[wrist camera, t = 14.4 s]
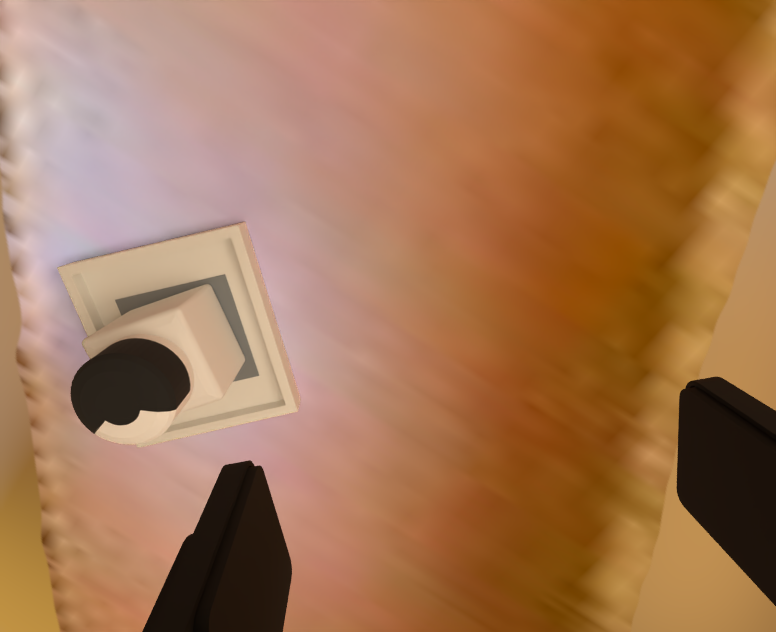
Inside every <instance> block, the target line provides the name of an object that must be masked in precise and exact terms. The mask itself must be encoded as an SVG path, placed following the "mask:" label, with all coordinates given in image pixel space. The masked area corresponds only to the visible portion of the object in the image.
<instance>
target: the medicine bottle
mask: <svg viewBox="0 0 776 632" xmlns="http://www.w3.org/2000/svg"><path fill="white" fill-rule="evenodd" d="M82 345H83V347H84V349H85V351H86V352H87V354H88V356H89V358H90V360H89V361H87V362H86V363H85V364H84V365H82V367H81V368H80V369H79V370H78V371H77V373H76V374H75V376H74V379H73V381H72V385H71V401H72V404H73V408H74V410H75V412H76V414H77V416H78V418H79V419H80V421H81V422H82V423H83V424H84V425H85V426H86V427H87V428H88V429H89V430H90V431H91V432H93V433H94V434H95V435H97V436H99V437H101V438H103V439H105V440H108V441H111V442H114V443H119V444H127V445H134V444H142V443H146V442H149V441H152V440H154V439H156V438H157V437H159V436H161V435H162V434H163V433H164V432H165V431H166V430H167V429H168V428H169V427H170V425H171V424H172V422H173V421H174V420H175V418H176V417H177V416H178V414H179V413H182V412H185V411H188V410H191V409H194V408H197V407H200V406H203V405H206V404H209V403H212V402H215V401H218V400H221V399H222V398H223V397H224V395H225V394H226V392H227V390H228V389H229V387H230V385H231V384H232V382H233V380H234V379H235V377H236V375H237V374H238V372H239V370H240V369H241V367H242V365H243V364H244V362H245V357H244V355H243V353H242V350H241V348H240V346H239V344H238V342H237V340H236V338H235V335H234V333H233V331H232V329H231V327H230V325H229V323H228V320H227V318H226V316H225V314H224V312H223V310H222V308H221V306H220V303H219V301H218V299H217V297H216V295H215V293H214V291H213V288H212V287H211V285H209V284H205V285H202V286H199V287H196V288H193V289H190V290H188V291H185V292H182V293H179V294H176V295H173V296H170V297H167V298H165V299H162V300H159V301H156V302H153V303H150V304H147V305H145V306H142V307H139V308H136V309H133V310H130V311H129V312H127V313H125V314H124V315H122V316H121V317H119V318H117V319H116V320H114V321H113V322H111V323H109V324H108V325H106V326H105V327H103V328H101V329H100V330H98V331H96V332H95V333H93V334H92V335H90V336H88V337H87V338H85V339H84V340H83V342H82Z"/></svg>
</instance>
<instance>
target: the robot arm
mask: <svg viewBox="0 0 776 632" xmlns="http://www.w3.org/2000/svg"><path fill="white" fill-rule="evenodd" d="M677 493H678V497H679V499H680V501H681V503H682V505H683V506H684V507H685V508H686V509H687V510H688V512H689V513H690V514H691V515H692V516H693V517H694V518H695V519H696V520H697V521H698V522H699V524H700V525H701V526H702V527H703V528H704V529H705V530H706V531H707V532H708V533H709V534H710V536H711V537H712V538H713V539H714V540H715V541H716V542H717V543H718V544H719V545H720V546H721V547H722V549H723V550H724V551H725V552H726V553H727V554H728V555H729V556H730V557H731V558H732V559H733V560H734V561H735V562H736V564H737V565H738V566H739V567H740V568H741V569H742V570H743V571H744V572H745V573H746V574H747V576H749V578H750V579H751V580H752V581H753V582H754V583H755V584H756V585H757V586H758V588H759V589H760V590H761V591H762V592H763V593H764V594H765V595H766V596H767V597H768V598H769V599H770V600H771V602H772V603H773V604H774V605H775V606H776V411H775V410H773V409H772V408H770V407H768V406H767V405H765V404H763V403H762V402H760V401H758V400H757V399H755V398H754V397H752V396H750V395H749V394H747V393H746V392H744V391H742V390H740V389H739V388H737V387H736V386H734V385H733V384H731V383H729V382H728V381H726V380H724V379H723V378H720V377H711V378H706V379H700V380H694V381H690V382H689V383H688V384H687V385H686V389H683V390H682V391H681V392H680V399H679V431H678V463H677ZM291 576H292V566H291V559H290V556H289V552H288V549H287V546H286V543H285V539H284V536H283V533H282V530H281V526H280V523H279V520H278V516H277V513H276V510H275V507H274V503H273V500H272V497H271V494H270V490H269V487H268V484H267V480H266V477H265V474H264V471H263V468H262V467H261V466H254V464H253V463H252V461H244V462H239V463H233V464H228V465H225V466H223V468H222V470H221V472H220V474H219V476H218V479H217V481H216V483H215V486H214V488H213V490H212V492H211V495H210V497H209V499H208V501H207V504H206V506H205V508H204V510H203V513H202V515H201V517H200V520H199V522H198V524H197V526H196V529H195V531H194V533H193V534H191V535H189V536H188V537H186V539H185V541H184V542H183V544H182V546H181V548H180V551H179V553H178V555H177V557H176V559H175V561H174V564H173V566H172V568H171V570H170V572H169V575H168V577H167V579H166V581H165V583H164V586H163V588H162V590H161V592H160V594H159V596H158V599H157V601H156V603H155V605H154V607H153V610H152V612H151V614H150V616H149V618H148V621H147V623H146V625H145V627H144V629H143V631H142V632H283V626H284V620H285V614H286V608H287V602H288V595H289V589H290V583H291Z"/></svg>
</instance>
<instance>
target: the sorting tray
mask: <svg viewBox="0 0 776 632" xmlns="http://www.w3.org/2000/svg"><path fill="white" fill-rule="evenodd" d="M57 269H58V271H59V273H60V275H61V277H62V280H63V282H64V284H65V286H66V289H67V291H68V293H69V295H70V298H71V300H72V302H73V304H74V307H75V309H76V311H77V313H78V315H79V318H80V320H81V322H82V324H83V327H84V329H85V331H86V333H87V336H90V335H92V334H93V333H95V332H96V331H98V330H100V329H101V328H103V327H105V326H106V325H108V324H109V323H111V322H113V321H114V320H116V319H117V318H119V317H121V316H122V315H124V314H125V313H127V312H129V311H130V310H133V309H136V308H139V307H142V306H145V305H147V304H150V303H153V302H156V301H159V300H162V299H165V298H167V297H170V296H173V295H176V294H179V293H182V292H185V291H188V290H190V289H193V288H196V287H199V286H202V285H205V284H209V285H211V287H212V288H213V291H214V293H215V295H216V297H217V299H218V301H219V303H220V306H221V308H222V310H223V312H224V314H225V316H226V318H227V320H228V323H229V325H230V327H231V329H232V331H233V333H234V335H235V338H236V340H237V342H238V344H239V346H240V348H241V350H242V353H243V355H244V357H245V362H244V364H243V365H242V367H241V369H240V370H239V372H238V374H237V375H236V377H235V379H234V380H233V382H232V384H231V385H230V387H229V389H228V390H227V392H226V394H225V395H224V397H223V398H222V399H221V400H218V401H215V402H212V403H209V404H206V405H203V406H200V407H197V408H194V409H191V410H188V411H185V412H182V413H179V414H178V416H177V417H176V418H175V420H174V421H173V422H172V424H171V425H170V427H169V428H168V429H167V430H166V431H165V432H164V433H163V434H162V435H161V436H159V437H157V438H156V439H154V440H152V441H149V442H146V443H142V444H136V445H137V447H138V448H140V447H144V446H149V445H153V444H157V443H162V442H166V441H170V440H175V439H179V438H184V437H188V436H192V435H197V434H201V433H206V432H210V431H214V430H219V429H223V428H227V427H232V426H236V425H241V424H245V423H249V422H254V421H258V420H263V419H267V418H271V417H276V416H280V415H284V414H289V413H293V412H298V408H299V405H300V401H301V398H300V395H299V392H298V389H297V386H296V382H295V379H294V376H293V373H292V370H291V366H290V363H289V360H288V357H287V354H286V350H285V347H284V344H283V341H282V338H281V335H280V331H279V328H278V325H277V322H276V319H275V315H274V312H273V309H272V306H271V303H270V299H269V296H268V293H267V290H266V287H265V284H264V280H263V277H262V274H261V271H260V268H259V264H258V261H257V258H256V255H255V252H254V248H253V245H252V242H251V239H250V236H249V233H248V229H247V226H246V223H245V222H242V223H238V224H233V225H229V226H225V227H221V228H216V229H212V230H208V231H204V232H199V233H195V234H191V235H187V236H182V237H178V238H174V239H170V240H165V241H161V242H157V243H153V244H148V245H144V246H140V247H136V248H131V249H127V250H123V251H119V252H114V253H110V254H106V255H102V256H97V257H93V258H89V259H85V260H80V261H76V262H73V263H70V264H67V265H64V266H61V267H58V268H57Z"/></svg>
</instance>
